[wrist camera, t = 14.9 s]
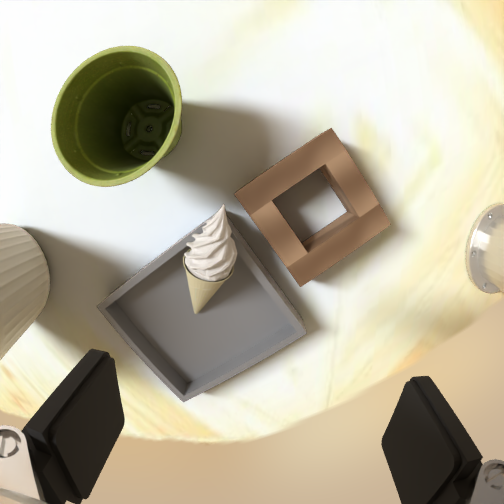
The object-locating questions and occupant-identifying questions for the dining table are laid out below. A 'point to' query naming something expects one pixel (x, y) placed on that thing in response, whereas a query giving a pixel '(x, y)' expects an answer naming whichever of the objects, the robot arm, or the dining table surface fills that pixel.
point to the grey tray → (202, 319)
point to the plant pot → (116, 116)
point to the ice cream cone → (209, 259)
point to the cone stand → (333, 235)
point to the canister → (20, 283)
